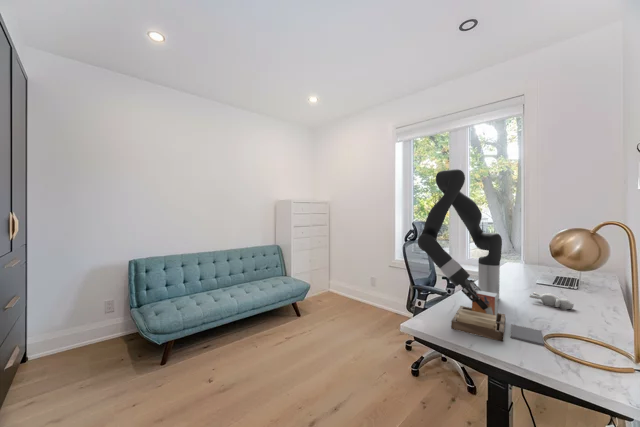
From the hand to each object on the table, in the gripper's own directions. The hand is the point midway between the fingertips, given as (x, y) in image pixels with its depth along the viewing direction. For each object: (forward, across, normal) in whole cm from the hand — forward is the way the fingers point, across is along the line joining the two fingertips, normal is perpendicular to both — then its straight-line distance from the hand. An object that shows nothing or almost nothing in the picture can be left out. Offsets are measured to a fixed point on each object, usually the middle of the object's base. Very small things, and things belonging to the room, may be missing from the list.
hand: (486, 305), depth 105 cm
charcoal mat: (+13, -4, -4) cm, 15 cm away
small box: (+3, 0, +4) cm, 6 cm away
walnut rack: (+3, -5, +6) cm, 8 cm away
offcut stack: (+3, -10, +6) cm, 12 cm away
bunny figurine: (+21, +41, -11) cm, 48 cm away
